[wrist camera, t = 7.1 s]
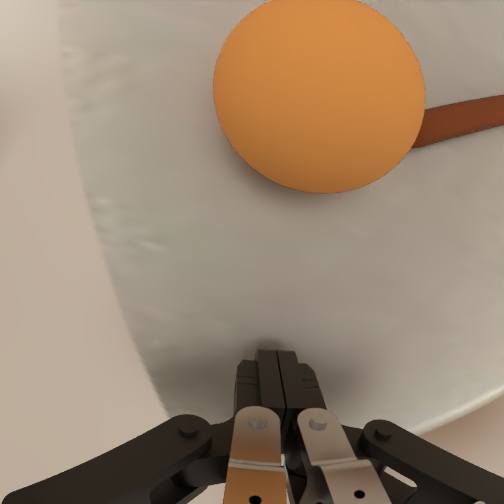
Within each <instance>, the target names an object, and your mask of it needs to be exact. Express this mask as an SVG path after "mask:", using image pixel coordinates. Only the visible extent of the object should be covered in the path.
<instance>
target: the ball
mask: <svg viewBox="0 0 504 504" xmlns="http://www.w3.org/2000/svg"><path fill="white" fill-rule="evenodd" d="M213 92H214V103H215V108H216V112H217V116H218V119H219V122H220V124H221V127H222V129H223V131H224V133H225V135H226V137H227V139H228V141H229V142H230V143H231V145H232V146H233V147H234V149H235V150H236V152H237V153H238V154H239V155H240V156H241V157H242V158H243V159H244V160H245V161H246V162H247V163H248V164H249V165H250V166H251V167H253V168H254V169H255V170H256V171H258V172H259V173H261V174H262V175H264V176H265V177H267V178H268V179H270V180H272V181H274V182H277V183H279V184H281V185H283V186H286V187H289V188H292V189H295V190H300V191H305V192H311V193H340V192H345V191H350V190H354V189H357V188H360V187H363V186H366V185H368V184H370V183H372V182H374V181H376V180H378V179H380V178H381V177H383V176H384V175H386V174H387V173H389V172H390V171H391V170H392V169H393V168H394V167H395V166H396V165H397V164H399V163H400V161H401V160H402V159H403V158H404V157H405V155H406V154H407V153H408V152H409V150H410V149H411V147H412V145H413V144H414V142H415V140H416V138H417V135H418V133H419V130H420V127H421V124H422V120H423V116H424V110H425V87H424V81H423V76H422V72H421V69H420V65H419V63H418V60H417V58H416V56H415V53H414V52H413V50H412V48H411V46H410V44H409V43H408V42H407V40H406V39H405V37H404V36H403V35H402V33H401V32H400V31H399V30H398V29H397V28H396V27H395V26H394V25H393V24H392V23H391V22H390V21H389V20H388V19H387V18H385V17H384V16H383V15H381V14H380V13H379V12H377V11H376V10H374V9H373V8H371V7H369V6H367V5H365V4H363V3H361V2H359V1H356V0H272V1H270V2H268V3H265V4H263V5H261V6H260V7H258V8H257V9H255V10H254V11H252V12H251V13H250V14H248V15H247V16H246V17H245V18H244V19H243V20H242V21H241V22H240V23H239V24H238V25H237V26H236V27H235V28H234V29H233V31H232V32H231V33H230V34H229V36H228V38H227V39H226V41H225V43H224V45H223V47H222V49H221V52H220V54H219V57H218V59H217V62H216V67H215V71H214V80H213Z"/></svg>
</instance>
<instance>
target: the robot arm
mask: <svg viewBox="0 0 504 504" xmlns="http://www.w3.org/2000/svg"><path fill="white" fill-rule="evenodd" d="M281 454H284V456H285V462H284V465H283V466H281ZM387 466H388V467H390V468H391V469H393V470H395V471H396V472H398V473H400V474H402V475H403V476H405V477H407V478H409V479H411V480H412V481H414V482H415V483H416V485H417V487H411V486H409V485H407V484H405V483H403V482H401V481H400V480H398V479H396V478H394V477H393V476H391V475H389V474H388V473H386V472H384V470H385V468H386V467H387ZM220 483H226V485H225V491H224V499H223V504H287V502H286V489H287V493H288V497H289V502H290V504H504V478H503V477H500V476H498V475H496V474H494V473H491V472H489V471H487V470H485V469H483V468H480V467H478V466H476V465H474V464H472V463H469V462H468V461H465V460H463V459H461V458H459V457H457V456H455V455H453V454H451V453H449V452H447V451H445V450H443V449H441V448H439V447H437V446H435V445H433V444H431V443H429V442H427V441H426V440H424V439H422V438H420V437H418V436H416V435H414V434H412V433H410V432H409V431H407V430H405V429H403V428H401V427H399V426H398V425H396V424H394V423H392V422H390V421H386V420H373V421H370V422H368V423H367V424H366V425H365V427H364V429H359V428H353V427H348V426H344V425H342V424H340V422H339V420H338V418H337V417H336V416H335V415H334V414H333V413H331V412H330V411H328V410H327V408H326V405H325V402H324V399H323V396H322V393H321V390H320V388H319V384H318V381H317V378H316V375H315V372H314V370H312V369H311V368H310V367H309V366H308V365H307V364H301V363H298V361H297V357H296V354H295V351H284V350H276V351H275V350H268V349H257V350H256V355H255V361H251V360H242V362H241V363H240V364H239V365H238V367H237V374H236V383H235V392H234V413H233V417H232V418H231V419H230V420H228V421H226V422H224V423H220V424H214V425H210V424H209V423H208V422H207V421H206V420H205V419H203V418H201V417H198V416H195V415H188V414H185V415H178V416H175V417H173V418H171V419H169V420H168V421H166V422H164V423H162V424H160V425H158V426H157V427H155V428H153V429H151V430H149V431H147V432H146V433H143V434H142V435H140V436H138V437H136V438H134V439H132V440H130V441H128V442H126V443H124V444H122V445H120V446H118V447H116V448H114V449H112V450H110V451H108V452H106V453H104V454H102V455H100V456H98V457H95V458H93V459H91V460H89V461H87V462H85V463H82V464H80V465H78V466H76V467H73V468H71V469H69V470H67V471H64V472H62V473H60V474H57V475H55V476H52V477H50V478H47V479H45V480H43V481H40V482H37V483H35V484H32V485H30V486H27V487H24V488H22V489H19V490H16V491H13V492H11V493H9V494H8V495H7V496H6V497H5V498H4V499H3V501H2V504H187V503H188V502H189V501H191V500H192V499H194V498H195V497H196V496H198V495H199V494H201V493H202V492H203V491H204V490H205V489H206V488H207V487H208V485H214V484H220Z"/></svg>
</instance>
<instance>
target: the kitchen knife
mask: <svg viewBox="0 0 504 504" xmlns="http://www.w3.org/2000/svg"><path fill="white" fill-rule="evenodd" d="M501 125H504V95H498V96H492V97H486V98H480V99H475V100H469V101H464V102H459V103H454V104H449V105H444V106H440V107H435V108H430V109H426V110H424V116H423V120H422V124H421V127H420V130H419V133H418V135H417V138H416V140H415V142H414V144H413V145H412V147H411V148H419V147H423V146H426V145H430V144H433V143H437V142H440V141H444V140H448V139H451V138H455V137H458V136H462V135H466V134H470V133H473V132H477V131H481V130H485V129H489V128H493V127H497V126H501Z"/></svg>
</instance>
